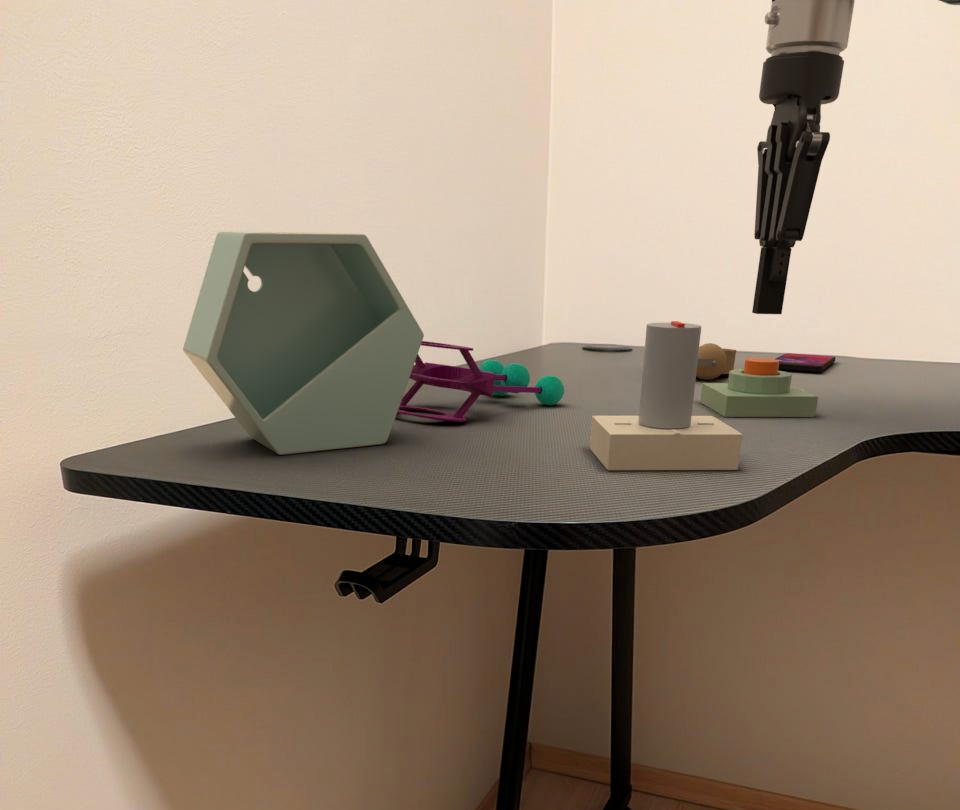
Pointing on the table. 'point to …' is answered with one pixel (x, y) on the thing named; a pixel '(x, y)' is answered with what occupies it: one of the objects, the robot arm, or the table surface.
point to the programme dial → (669, 374)
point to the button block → (758, 396)
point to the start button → (761, 366)
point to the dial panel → (665, 445)
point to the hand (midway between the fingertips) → (766, 313)
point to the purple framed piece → (476, 382)
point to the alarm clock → (714, 361)
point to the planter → (304, 339)
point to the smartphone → (804, 362)
